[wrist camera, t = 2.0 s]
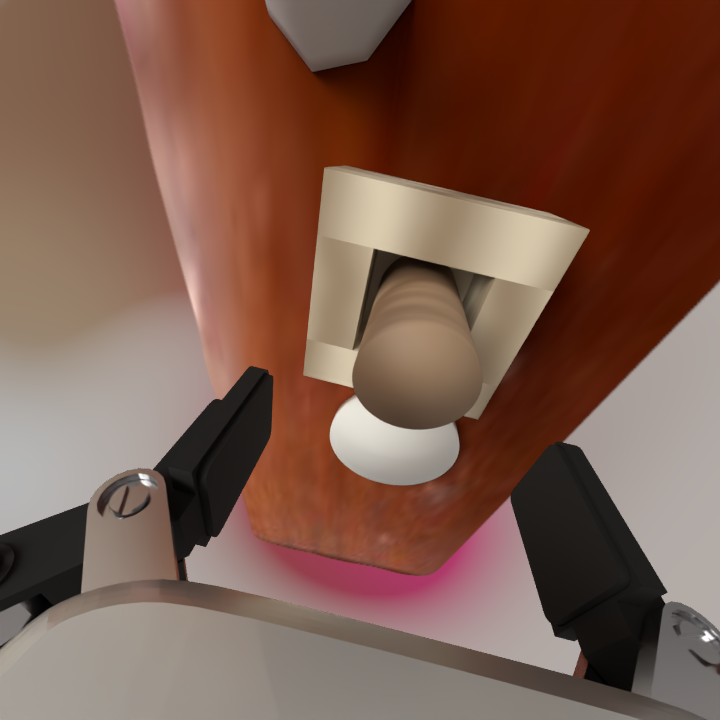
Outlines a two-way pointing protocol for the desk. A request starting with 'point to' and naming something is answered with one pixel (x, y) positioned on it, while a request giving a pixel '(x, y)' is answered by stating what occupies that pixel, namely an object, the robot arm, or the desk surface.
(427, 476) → the white round dome
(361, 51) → the flask
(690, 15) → the desk surface
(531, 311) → the birch holder
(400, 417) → the walnut peg
